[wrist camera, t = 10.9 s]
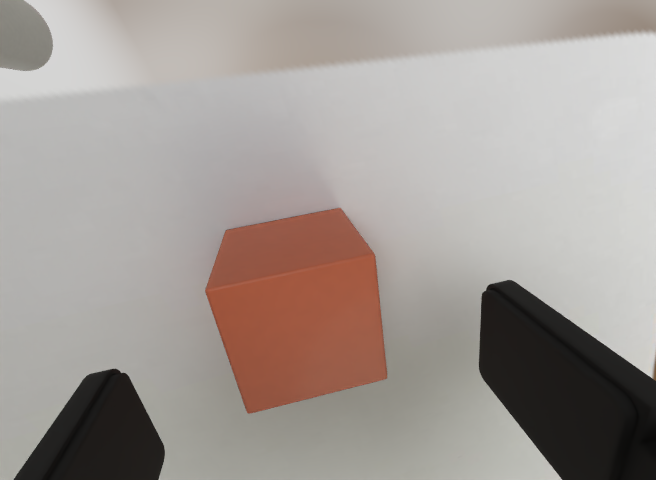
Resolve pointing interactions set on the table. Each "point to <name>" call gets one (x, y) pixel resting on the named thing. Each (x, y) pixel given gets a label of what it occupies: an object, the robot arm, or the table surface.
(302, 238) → the block
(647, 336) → the table surface
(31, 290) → the table surface
